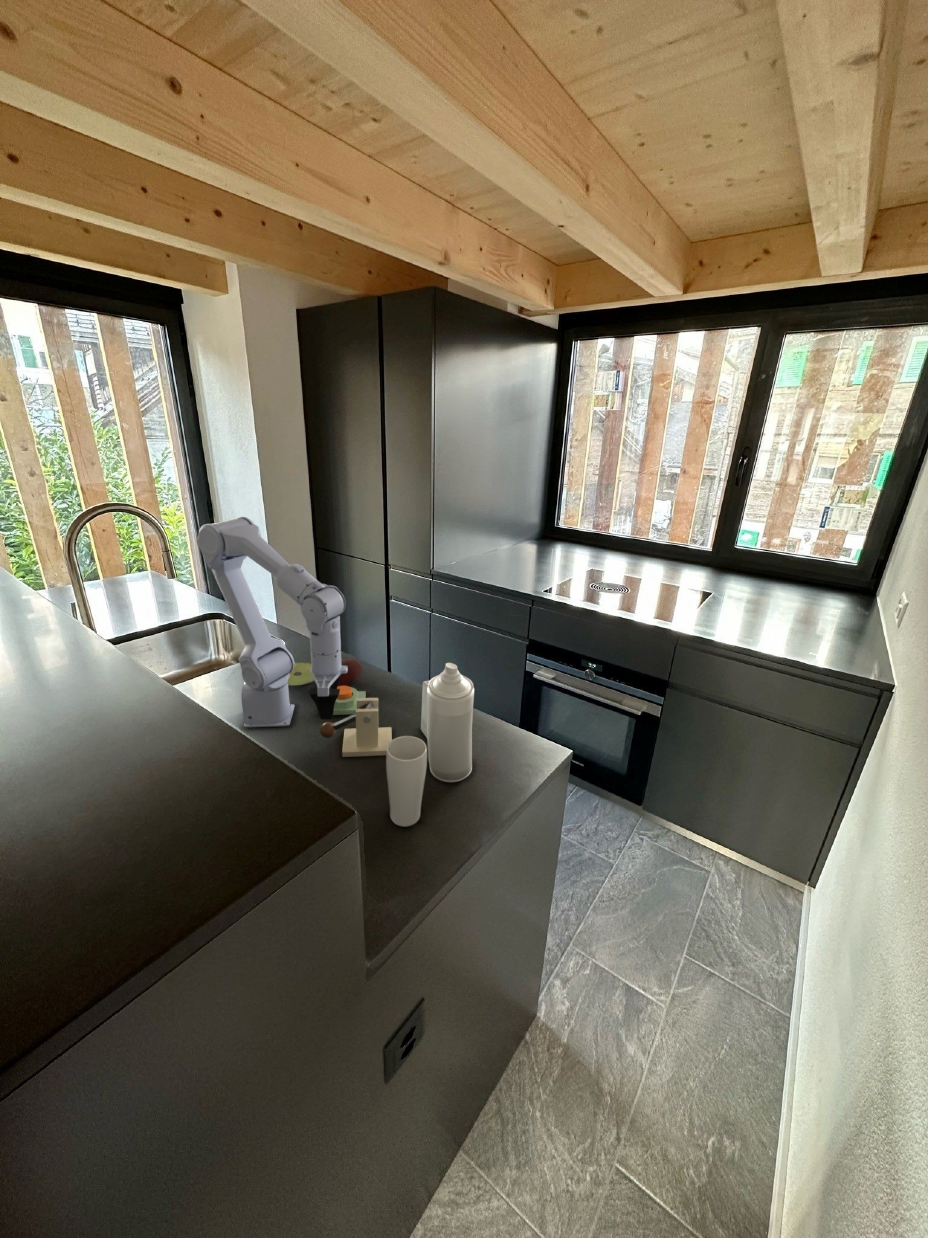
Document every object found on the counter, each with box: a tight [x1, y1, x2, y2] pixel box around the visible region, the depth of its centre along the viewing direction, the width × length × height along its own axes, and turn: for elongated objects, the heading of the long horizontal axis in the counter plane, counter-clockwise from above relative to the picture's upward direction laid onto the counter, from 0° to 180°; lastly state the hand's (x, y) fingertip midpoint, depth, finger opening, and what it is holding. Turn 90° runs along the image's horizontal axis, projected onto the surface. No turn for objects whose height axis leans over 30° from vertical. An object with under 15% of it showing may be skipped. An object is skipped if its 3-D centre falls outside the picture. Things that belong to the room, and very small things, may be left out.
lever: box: [319, 702, 375, 739], centre depth 105 cm, size 12×3×3 cm, turn 97°
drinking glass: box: [385, 735, 428, 828], centre depth 88 cm, size 7×7×15 cm
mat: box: [288, 662, 315, 686], centre depth 130 cm, size 11×11×2 cm
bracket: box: [341, 697, 393, 758], centre depth 106 cm, size 10×8×10 cm
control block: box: [333, 686, 367, 716], centre depth 120 cm, size 10×8×3 cm
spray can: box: [426, 662, 475, 783], centre depth 97 cm, size 12×11×25 cm
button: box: [337, 686, 352, 700], centre depth 120 cm, size 4×4×2 cm
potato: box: [337, 658, 363, 687], centre depth 129 cm, size 7×10×6 cm
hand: (328, 707), depth 105 cm, fingers open, 7 cm apart
